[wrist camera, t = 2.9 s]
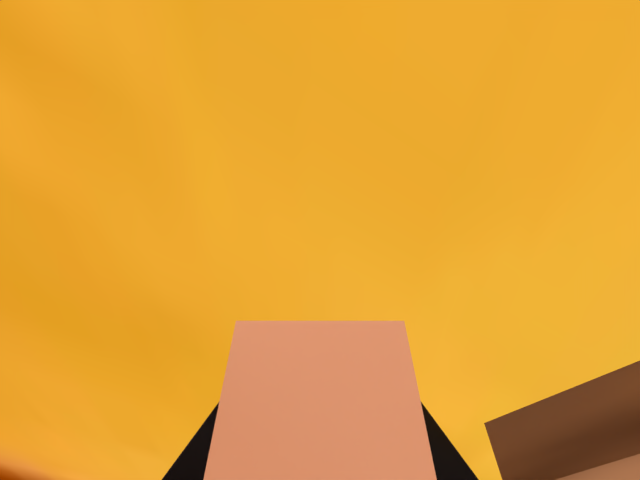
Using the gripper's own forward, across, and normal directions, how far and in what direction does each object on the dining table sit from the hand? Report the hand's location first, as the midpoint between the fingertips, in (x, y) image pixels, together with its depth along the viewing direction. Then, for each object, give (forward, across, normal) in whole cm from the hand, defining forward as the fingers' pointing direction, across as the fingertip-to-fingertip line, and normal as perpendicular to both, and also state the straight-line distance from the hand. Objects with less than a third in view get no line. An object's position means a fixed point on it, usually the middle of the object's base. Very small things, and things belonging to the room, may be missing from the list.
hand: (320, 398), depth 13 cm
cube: (+1, 0, 0) cm, 1 cm away
